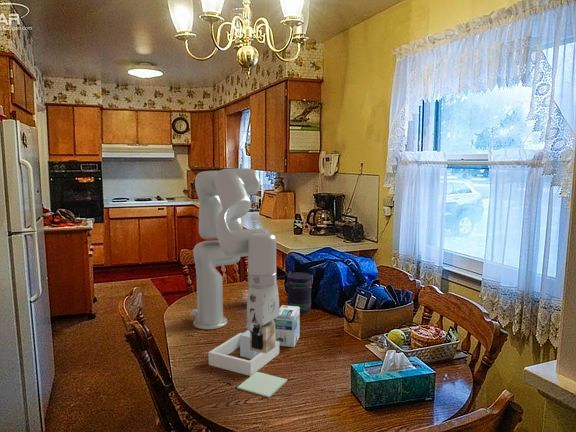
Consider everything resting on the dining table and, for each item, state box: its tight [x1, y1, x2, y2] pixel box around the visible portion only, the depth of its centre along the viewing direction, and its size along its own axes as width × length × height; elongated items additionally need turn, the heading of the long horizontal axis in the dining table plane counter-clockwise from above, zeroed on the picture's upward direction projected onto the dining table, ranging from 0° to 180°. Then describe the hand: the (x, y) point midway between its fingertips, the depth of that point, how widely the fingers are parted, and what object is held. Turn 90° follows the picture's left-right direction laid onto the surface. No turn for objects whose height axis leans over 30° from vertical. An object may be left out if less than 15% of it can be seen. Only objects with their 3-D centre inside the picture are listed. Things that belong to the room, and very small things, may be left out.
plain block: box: [239, 329, 261, 360], centre depth 140 cm, size 5×5×7 cm
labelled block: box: [250, 321, 275, 354], centre depth 120 cm, size 5×5×7 cm
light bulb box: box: [274, 304, 301, 348], centre depth 151 cm, size 11×7×11 cm, turn 168°
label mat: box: [236, 371, 288, 398], centre depth 122 cm, size 10×10×1 cm
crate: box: [207, 332, 280, 377], centre depth 137 cm, size 15×17×4 cm
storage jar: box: [286, 271, 312, 316], centre depth 181 cm, size 10×10×15 cm
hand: (262, 343), depth 120 cm, fingers closed on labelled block, 5 cm apart
